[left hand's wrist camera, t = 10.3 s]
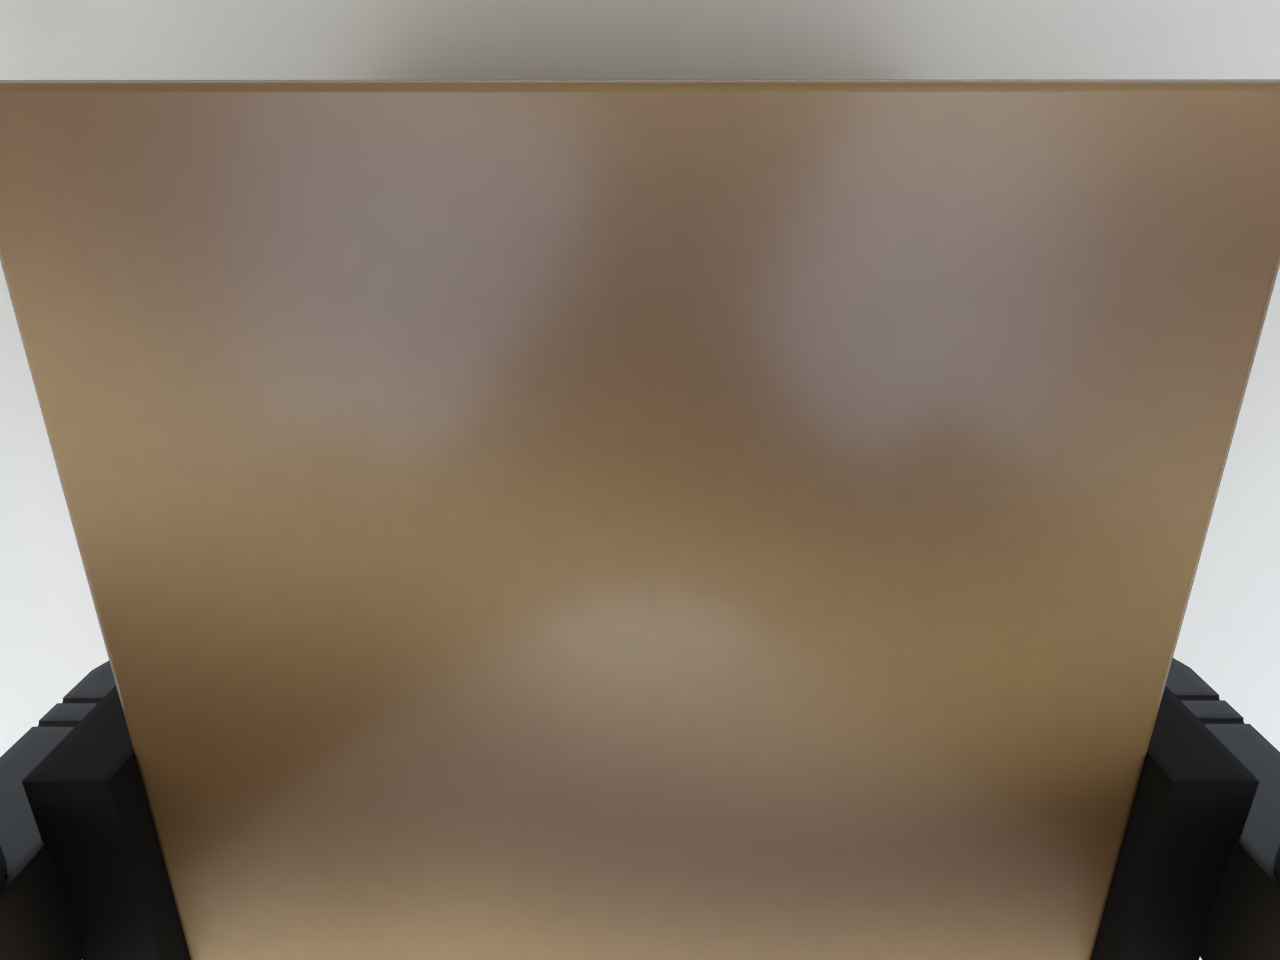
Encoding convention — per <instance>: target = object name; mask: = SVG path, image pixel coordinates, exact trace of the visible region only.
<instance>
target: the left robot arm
mask: <svg viewBox="0 0 1280 960" xmlns="http://www.w3.org/2000/svg"><path fill="white" fill-rule="evenodd" d="M1199 957H1201V958H1202V960H1280V752H1279V751H1278V750H1277V749H1276V748H1275V747H1273V746H1272V745H1271V744H1270V743H1269V742H1268V741H1267V740H1266V739H1265V738H1264V737H1263V736H1262V735H1261V734H1260V733H1259V732H1258V731H1257V730H1255V729H1254V728H1253V727H1252V726H1251V725H1250V724H1244V722H1243V717H1242V716H1241V715H1240V714H1239V713H1237V712H1236V711H1235V710H1234V709H1233V708H1232V707H1231V706H1230V705H1229V704H1228V703H1227V702H1226V701H1220V700H1219V695H1218V694H1217V693H1216V692H1215V691H1214V690H1213V689H1212V688H1211V687H1210V686H1209V685H1208V684H1207V683H1206V682H1205V681H1204V680H1202V679H1201V678H1200V677H1199V676H1198V675H1197V674H1196V673H1195V672H1194V671H1193V670H1192V669H1191V668H1190V667H1188V666H1186V665H1184V664H1183V663H1181V662H1179V661H1177V660H1176V659H1174V658H1172V662H1171V666H1170V669H1169V673H1168V677H1167V680H1166V684H1165V688H1164V691H1163V695H1162V699H1161V702H1160V706H1159V710H1158V713H1157V717H1156V721H1155V724H1154V728H1153V732H1152V735H1151V739H1150V743H1149V746H1148V750H1147V754H1146V758H1145V761H1144V765H1143V769H1142V772H1141V776H1140V780H1139V783H1138V787H1137V791H1136V794H1135V798H1134V802H1133V805H1132V809H1131V813H1130V816H1129V820H1128V824H1127V827H1126V831H1125V835H1124V838H1123V842H1122V846H1121V849H1120V853H1119V857H1118V860H1117V864H1116V868H1115V871H1114V875H1113V879H1112V882H1111V886H1110V890H1109V893H1108V897H1107V901H1106V904H1105V908H1104V912H1103V916H1102V919H1101V923H1100V927H1099V930H1098V934H1097V938H1096V941H1095V945H1094V949H1093V952H1092V956H1091V960H1199ZM0 960H191V958H190V954H189V950H188V947H187V943H186V939H185V936H184V932H183V928H182V925H181V921H180V917H179V914H178V910H177V906H176V903H175V899H174V895H173V892H172V888H171V884H170V881H169V877H168V873H167V870H166V866H165V862H164V859H163V855H162V851H161V848H160V844H159V840H158V837H157V833H156V829H155V826H154V822H153V818H152V815H151V811H150V807H149V804H148V800H147V796H146V793H145V789H144V785H143V782H142V778H141V774H140V771H139V767H138V763H137V760H136V756H135V752H134V749H133V745H132V741H131V738H130V734H129V730H128V727H127V723H126V719H125V716H124V712H123V708H122V705H121V701H120V697H119V694H118V690H117V686H116V683H115V679H114V675H113V672H112V668H111V664H110V660H109V661H108V662H106V663H104V664H102V665H101V666H99V667H97V668H95V669H94V670H92V671H91V672H90V673H89V674H88V675H87V676H86V677H85V678H84V679H82V680H81V681H80V682H79V683H78V684H77V685H76V686H75V687H74V688H73V689H72V690H71V691H70V692H69V693H68V694H67V695H66V696H65V697H64V698H63V703H57V704H56V705H55V706H54V707H53V708H52V709H51V710H50V711H49V712H48V713H47V714H46V715H45V716H44V717H43V718H41V719H40V720H39V725H38V727H32V728H31V729H30V730H29V731H28V732H27V733H26V734H25V735H24V736H23V737H21V738H20V739H19V740H18V741H17V742H16V743H15V744H14V745H13V746H12V747H11V748H10V749H9V750H8V751H7V752H6V753H5V754H4V755H3V756H1V757H0Z"/></svg>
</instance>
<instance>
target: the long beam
mask: <svg viewBox="0 0 1280 960" xmlns="http://www.w3.org/2000/svg"><path fill="white" fill-rule="evenodd" d="M0 260H1V264H2V268H3V271H4V275H5V279H6V282H7V286H8V290H9V293H10V297H11V301H12V304H13V308H14V312H15V315H16V319H17V323H18V326H19V330H20V334H21V337H22V341H23V345H24V348H25V352H26V356H27V359H28V363H29V367H30V370H31V374H32V378H33V381H34V385H35V389H36V393H37V396H38V400H39V404H40V407H41V411H42V415H43V418H44V422H45V426H46V429H47V433H48V437H49V440H50V444H51V448H52V451H53V455H54V459H55V462H56V466H57V470H58V473H59V477H60V481H61V484H62V488H63V492H64V495H65V499H66V503H67V506H68V510H69V514H70V517H71V521H72V525H73V528H74V532H75V536H76V539H77V543H78V547H79V550H80V554H81V558H82V561H83V565H84V569H85V572H86V576H87V580H88V583H89V587H90V591H91V594H92V598H93V602H94V605H95V609H96V613H97V616H98V620H99V624H100V627H101V631H102V635H103V638H104V642H105V646H106V649H107V653H108V657H109V660H110V664H111V668H112V672H113V675H114V679H115V683H116V686H117V690H118V694H119V697H120V701H121V705H122V708H123V712H124V716H125V719H126V723H127V727H128V730H129V734H130V738H131V741H132V745H133V749H134V752H135V756H136V760H137V763H138V767H139V771H140V774H141V778H142V782H143V785H144V789H145V793H146V796H147V800H148V804H149V807H150V811H151V815H152V818H153V822H154V826H155V829H156V833H157V837H158V840H159V844H160V848H161V851H162V855H163V859H164V862H165V866H166V870H167V873H168V877H169V881H170V884H171V888H172V892H173V895H174V899H175V903H176V906H177V910H178V914H179V917H180V921H181V925H182V928H183V932H184V936H185V939H186V943H187V947H188V950H189V954H190V958H191V960H1091V956H1092V952H1093V949H1094V945H1095V941H1096V938H1097V934H1098V930H1099V927H1100V923H1101V919H1102V916H1103V912H1104V908H1105V904H1106V901H1107V897H1108V893H1109V890H1110V886H1111V882H1112V879H1113V875H1114V871H1115V868H1116V864H1117V860H1118V857H1119V853H1120V849H1121V846H1122V842H1123V838H1124V835H1125V831H1126V827H1127V824H1128V820H1129V816H1130V813H1131V809H1132V805H1133V802H1134V798H1135V794H1136V791H1137V787H1138V783H1139V780H1140V776H1141V772H1142V769H1143V765H1144V761H1145V758H1146V754H1147V750H1148V746H1149V743H1150V739H1151V735H1152V732H1153V728H1154V724H1155V721H1156V717H1157V713H1158V710H1159V706H1160V702H1161V699H1162V695H1163V691H1164V688H1165V684H1166V680H1167V677H1168V673H1169V669H1170V666H1171V662H1172V658H1173V655H1174V651H1175V647H1176V644H1177V640H1178V636H1179V633H1180V629H1181V625H1182V622H1183V618H1184V614H1185V611H1186V607H1187V603H1188V599H1189V596H1190V592H1191V588H1192V585H1193V581H1194V577H1195V574H1196V570H1197V566H1198V563H1199V559H1200V555H1201V552H1202V548H1203V544H1204V541H1205V537H1206V533H1207V530H1208V526H1209V522H1210V519H1211V515H1212V511H1213V508H1214V504H1215V500H1216V497H1217V493H1218V489H1219V486H1220V482H1221V478H1222V475H1223V471H1224V467H1225V464H1226V460H1227V456H1228V452H1229V449H1230V445H1231V441H1232V438H1233V434H1234V430H1235V427H1236V423H1237V419H1238V416H1239V412H1240V408H1241V405H1242V401H1243V397H1244V394H1245V390H1246V386H1247V383H1248V379H1249V375H1250V372H1251V368H1252V364H1253V361H1254V357H1255V353H1256V350H1257V346H1258V342H1259V339H1260V335H1261V331H1262V328H1263V324H1264V320H1265V317H1266V313H1267V309H1268V305H1269V302H1270V298H1271V294H1272V291H1273V287H1274V283H1275V280H1276V276H1277V272H1278V269H1279V265H1280V80H0Z"/></svg>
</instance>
